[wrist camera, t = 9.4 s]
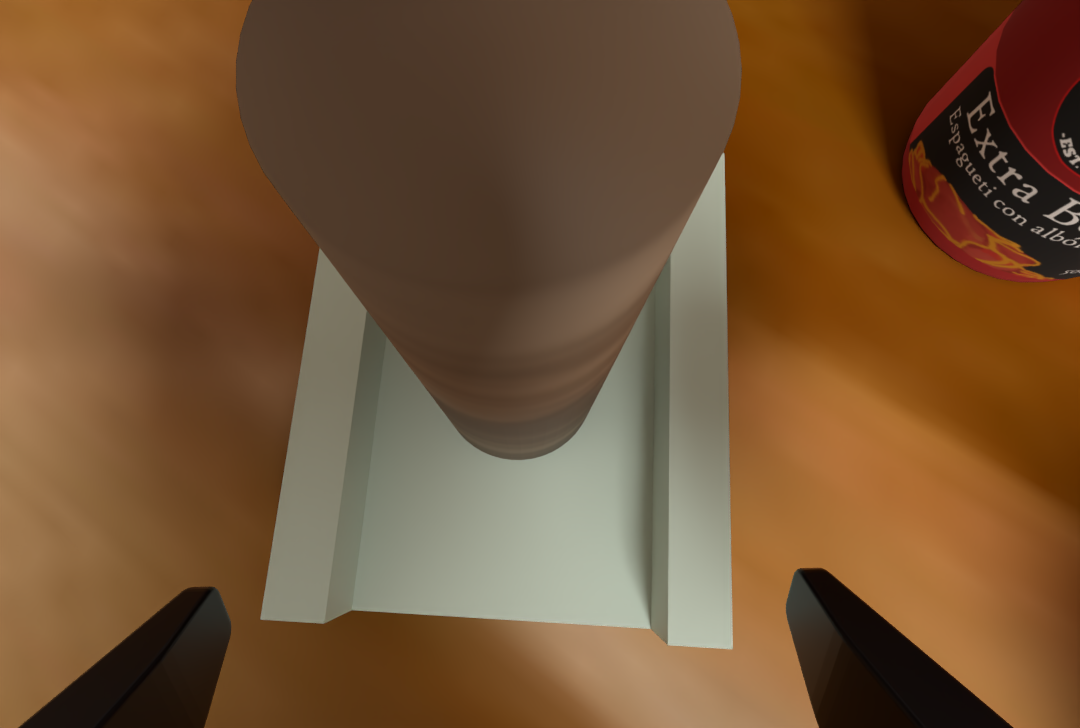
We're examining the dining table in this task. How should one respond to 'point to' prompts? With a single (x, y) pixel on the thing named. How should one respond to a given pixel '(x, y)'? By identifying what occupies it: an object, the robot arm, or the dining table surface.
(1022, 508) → the dining table surface
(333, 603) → the tray
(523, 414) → the brown round cylinder
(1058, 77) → the canned food
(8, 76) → the dining table surface
